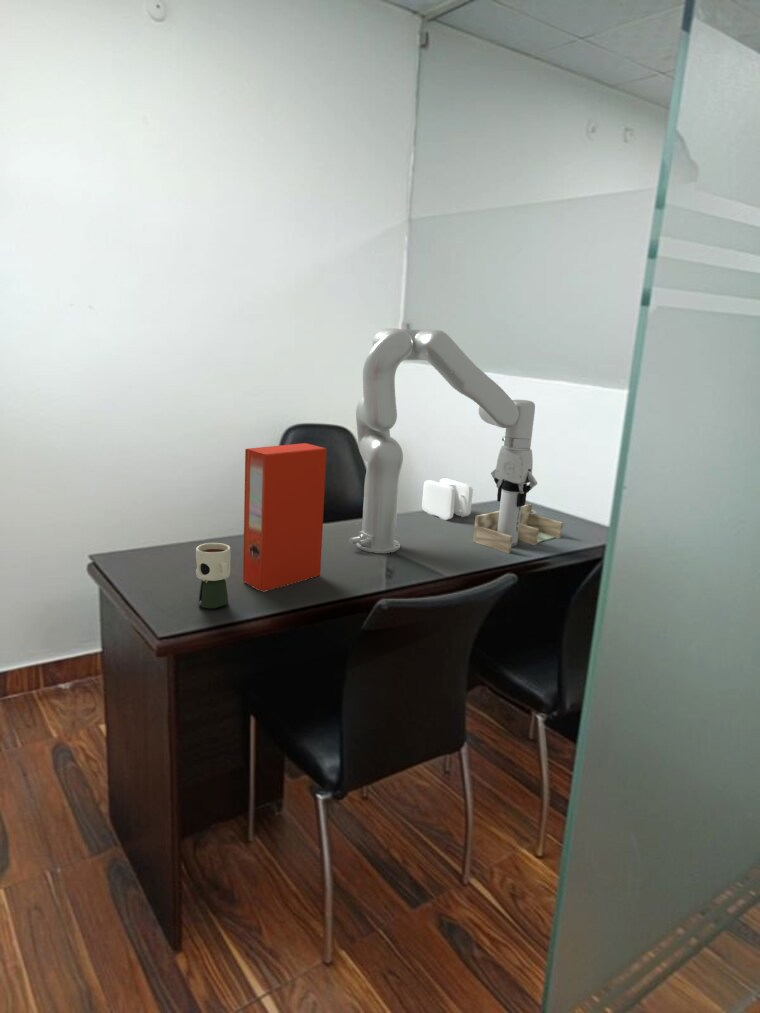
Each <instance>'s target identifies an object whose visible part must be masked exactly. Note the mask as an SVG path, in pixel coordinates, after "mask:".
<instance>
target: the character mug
mask: <svg viewBox="0 0 760 1013" xmlns="http://www.w3.org/2000/svg"><path fill="white" fill-rule="evenodd" d="M231 552H232V551H231V546H230V545H229V544H226V543H221V542H206V543H201V544H199V545H198V546H196V548H195V560H196V570H195V573H196V574H195V575H196V578H198V579H200V580H201V581H200V588H199V591H198V592H199V593H198V605H200V607H201V608H205V609H217V608H219V607H223V606H225V605H227V604H229V596H228V595H229V594H228V588H227V581H226V580H225V579H227V578H229V577H230V575H231V565H232V564H231V562H232V561H231V560H232V559H231V555H232V554H231ZM200 601H201V603H200Z"/></svg>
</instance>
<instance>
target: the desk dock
mask: <svg viewBox="0 0 760 1013" xmlns="http://www.w3.org/2000/svg"><path fill="white" fill-rule="evenodd" d="M532 507H533V504H531V503H528V504H525V505H524V506H522V507H521V515H520V524H519V533H518V541H519V540H520V542H522V543H525V544H526V543H527V544H530V545H532V546H537V545H538V543H542V541H543V542H545V541H549V540H552V539H556V538H557V539H561V538H562V534H563V528H564V522H563V521H559V520H556V519H552V518H549V517H546V516H543V515H542V516H541V515H538V514H534V513H532V511H533V510H532ZM474 518H475V519H474V525H473V526H474V527H473V535H472V536H473V537H472V542H474V543H475V544H479V545H481V546H486V547H488V548H490V549H494V550H497V551H500V552H503V553H506V554H511V551H512V547H511V544H512V536H510V535H507V534H504V533H501V532H497V529H498V520H499V510H496V511H492V512H487V513H481V514H477V515H475V517H474Z"/></svg>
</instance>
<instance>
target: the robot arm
mask: <svg viewBox="0 0 760 1013" xmlns="http://www.w3.org/2000/svg"><path fill="white" fill-rule="evenodd" d="M403 361H426V362H428V363H429V364H430V365H431V366H432V367H433V368H434V369H435V370H436V371H437V372H438V373H439V375H441V376H442V378H443V379H444V380H445V381H446V382H447V383H448V384H449V385H450V386H451V387H452V388H453V389H454V390H455V391H456V392H458V393H459V394H461V395H463V396H465V397H466V398H469V399H470V400H472V401H473V402H474V403H476V404H477V405H478V414H479V417H480V419H481V420H482V421H483V422H484V423H487V424H489V425H492V426H496V427H497V428H501V429H505V432H504V436H502V437H501V441H502V442H503V443H504V444H503V445H501V447H500V450H499V453H498V456H497V460H496V466H495V469H494V470H492V471H491V472H490V474H491V477H492V478H493V481H494V483H495V485H496V488H497V495H496V497H497V500H496V501H497V502H500V501H501V492H502V484H503V481H502V480H503V479H504V481H505V480H507V481H510V482H512V483H514V484H518V486H519V490H520V493H518V497H517V507H521V506H524V505H526V500H527V494H528V493H529V492H530V491H531V490H532V489H533V488H534V487H536V486H537V485H538V481H537V480H536V478H535V477H534V475H533V450H532V447H531V445H532V437H533V431H534V430H533V429H534V420H535V414H536V413H535V412H536V404H535V402H534V401H532V400H528V399H527V400H526V399H512V398H511V397H510V396H509V395H508V393H507V392H506V391H505V390H504V389H503V388H502V387H500V386H499V384H498V383H496V382H495V381H494V380H493V379H492V378H491V377H489V376H488V375H487V374H486V373H485V372H484V371H482V369H480V368H479V367H478V366H477V365H476V364H475V363H474V362H473V361H472V360H471V359H470V358H469V357H468V356H467V354H466V353H465V352H464V351H463V350H462V349H461V348H460V346H459V345H458V344H457V343H456V342H455V341H454V340H453V338H451V337H450V336H449V335H448V334H447V333H446V332H445V331H442V330H439V329H405V328H384V329H380V330H379V331H378V332H377V333H376V334H375V335H374V337H373V339H372V348H371V350H369V353H368V354H367V356H366V358H365V361H364V365H363V367H362V395H363V396H362V397H361V398H360V399H359V400H358V402H357V405H356V408H355V409H356V410H355V423H356V431H357V433H356V434H357V442H358V443H357V444H358V450H359V453H360V455H361V457H362V459H363V460H364V461H365V462H366V463H367V466H366V467H367V468H366V473H365V477H364V486H363V505H362V506H363V507H362V523H361V524H362V525H361V530H360V531H358V535H357V536H353V537H349V538H348V543H349V545H355V546H356V548H357V549H359V550H361V551H364V552H368V553H372V552H374V553H375V554H391V553H395V552H397V551H398V550H400V547H401V543H400V542H399V541H398V540H396V530H397V529H396V528H397V517H398V504H399V503H398V501H399V500H398V498H399V485H400V478H401V472H402V467H403V463H404V462H403V461H404V454H403V450H402V449H403V448H402V447H401V445H400V444H399V442H398V441H397V440H396V439H395V438H393V437H391V433H390V432H391V429H392V428H393V427H395V424H396V423H397V419H398V410H397V400H396V398H397V397H396V372H397V370H398V367H399V365H400V364H401V363H402V362H403ZM390 552H391V553H390Z"/></svg>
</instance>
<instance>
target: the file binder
mask: <svg viewBox="0 0 760 1013" xmlns="http://www.w3.org/2000/svg"><path fill="white" fill-rule="evenodd" d="M244 454H245V455H244V460H245V461H244V503H243V504H244V507H243V508H244V509H243V511H244V513H243V556H242V557H243V558H242V559H243V563H242V564H243V566H242V567H243V568H242V571H243V572H242V582H243V581H244V582H246V583H248V584H250V585H251V586H254V587H255V588H257V589H259V590H262V591H265V590H270V589H273V588H277V587H280V588H282V587H281V586H284V585H287V584H291V583H294V584H296V583H295V582H298V581H301V580H305V579H308V578H311V577H315V576H318V575H320V576H321V572H322V571H321V567H322V551H323V550H322V546H323V527H324V509H325V508H324V506H325V505H324V504H325V490H326V489H325V487H326V486H325V485H326V484H325V483H326V466H327V464H326V463H327V448H326V447H322V446H318V445H315V444H310V443H307V442H304V443H294V444H293V443H292V444H283V445H282V444H281V445H280V444H279V445H270V446H261V447H251V448H245V451H244ZM305 581H306V580H305ZM244 582H243V583H244ZM298 583H299V582H298ZM291 585H292V584H291ZM251 586H250V587H251ZM287 586H288V585H287ZM284 587H285V586H284ZM255 588H254V589H255ZM257 589H256V590H257ZM277 589H278V588H277ZM259 590H258V591H259ZM273 590H274V589H273ZM270 591H271V590H270Z"/></svg>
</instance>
